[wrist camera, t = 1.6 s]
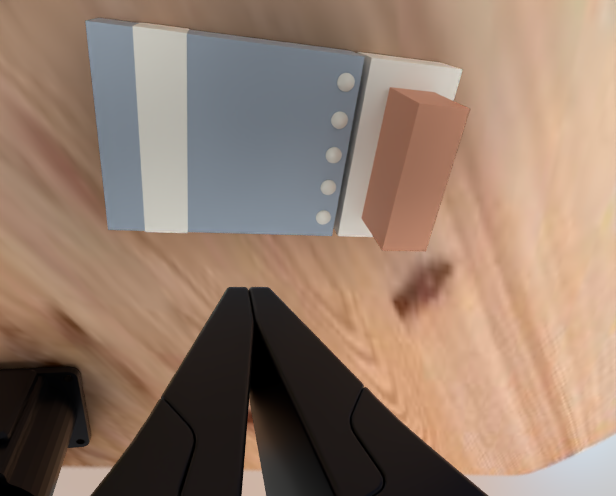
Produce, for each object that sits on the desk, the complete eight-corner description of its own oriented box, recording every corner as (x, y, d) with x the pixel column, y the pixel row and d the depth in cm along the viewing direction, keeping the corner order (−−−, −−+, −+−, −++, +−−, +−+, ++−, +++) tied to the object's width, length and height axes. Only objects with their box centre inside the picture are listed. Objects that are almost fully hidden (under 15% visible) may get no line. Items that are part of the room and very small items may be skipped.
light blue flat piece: (322, 217, 22) (332, 237, 21) (116, 210, 20) (107, 231, 18) (350, 50, 18) (365, 56, 17) (98, 16, 16) (84, 20, 14)
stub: (399, 220, 23) (440, 271, 19) (328, 217, 22) (355, 270, 18) (441, 62, 19) (504, 82, 15) (357, 51, 18) (400, 69, 14)
